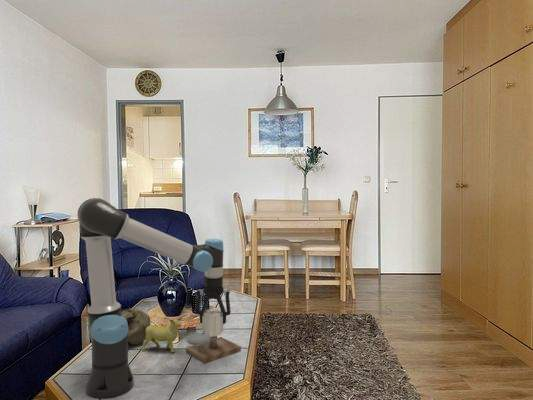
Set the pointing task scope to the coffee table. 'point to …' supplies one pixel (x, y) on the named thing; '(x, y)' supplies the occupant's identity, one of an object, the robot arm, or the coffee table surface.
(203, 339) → the coaster
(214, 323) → the grey rounded block
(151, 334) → the toy
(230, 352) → the lock base
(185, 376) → the coffee table surface
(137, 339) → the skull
